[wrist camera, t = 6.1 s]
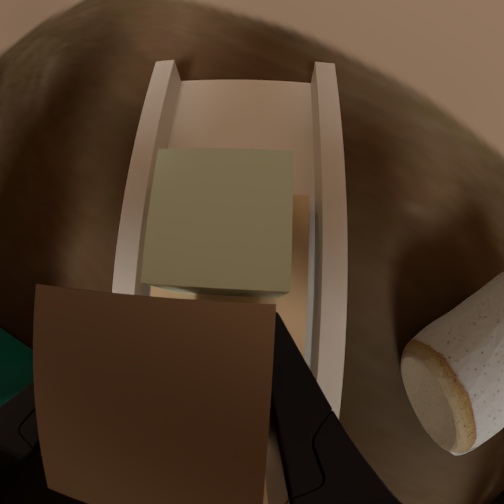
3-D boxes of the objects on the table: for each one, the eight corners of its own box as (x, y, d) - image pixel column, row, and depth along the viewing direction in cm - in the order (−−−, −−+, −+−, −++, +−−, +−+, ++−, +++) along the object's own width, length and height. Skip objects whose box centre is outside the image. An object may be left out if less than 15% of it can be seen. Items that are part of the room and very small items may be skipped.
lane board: (322, 442, 16) (332, 464, 13) (131, 427, 16) (111, 444, 13) (326, 92, 20) (334, 63, 17) (166, 89, 20) (156, 61, 17)
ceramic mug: (376, 338, 17) (450, 354, 9) (474, 274, 17) (559, 256, 10) (424, 470, 15) (485, 523, 8) (510, 402, 16) (581, 423, 8)
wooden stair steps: (285, 518, 14) (309, 685, 1) (157, 506, 14) (71, 648, 2) (306, 202, 17) (381, 9, 5) (167, 197, 17) (45, 28, 5)
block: (279, 298, 15) (290, 291, 10) (176, 292, 15) (140, 282, 11) (283, 197, 16) (293, 150, 11) (185, 194, 16) (158, 148, 11)
